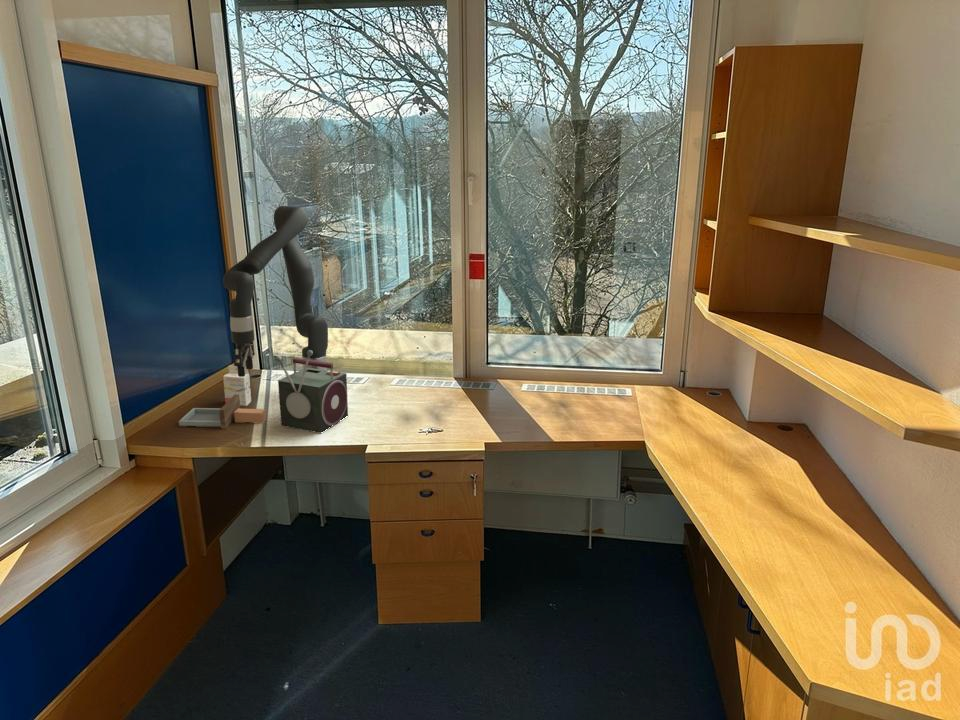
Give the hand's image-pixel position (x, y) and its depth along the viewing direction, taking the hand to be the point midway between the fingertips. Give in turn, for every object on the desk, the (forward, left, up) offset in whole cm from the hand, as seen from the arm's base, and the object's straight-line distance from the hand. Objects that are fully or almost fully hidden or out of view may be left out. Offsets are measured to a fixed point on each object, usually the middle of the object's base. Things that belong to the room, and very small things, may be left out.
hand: (245, 372), depth 234 cm
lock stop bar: (0, 0, -18) cm, 18 cm away
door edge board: (+7, 0, -18) cm, 19 cm away
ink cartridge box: (+10, -17, -18) cm, 27 cm away
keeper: (+15, 0, -18) cm, 24 cm away
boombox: (-23, 0, -18) cm, 30 cm away
